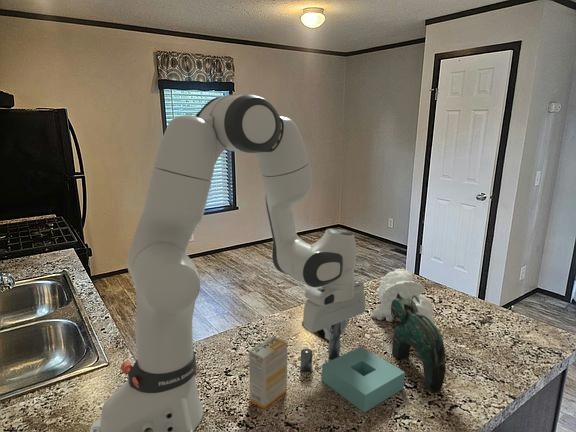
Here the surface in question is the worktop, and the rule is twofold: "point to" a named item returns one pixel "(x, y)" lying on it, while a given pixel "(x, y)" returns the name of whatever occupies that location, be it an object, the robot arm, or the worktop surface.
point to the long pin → (335, 341)
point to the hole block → (363, 378)
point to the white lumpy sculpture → (405, 288)
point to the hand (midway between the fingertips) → (334, 336)
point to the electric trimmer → (320, 332)
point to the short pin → (306, 360)
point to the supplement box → (268, 371)
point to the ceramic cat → (418, 340)
